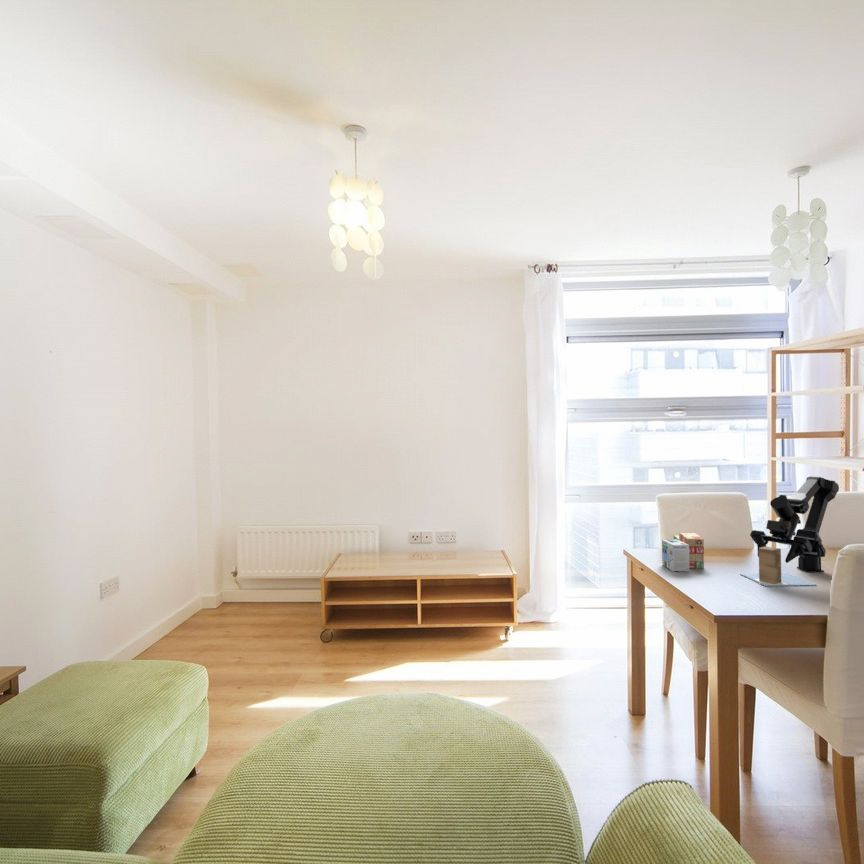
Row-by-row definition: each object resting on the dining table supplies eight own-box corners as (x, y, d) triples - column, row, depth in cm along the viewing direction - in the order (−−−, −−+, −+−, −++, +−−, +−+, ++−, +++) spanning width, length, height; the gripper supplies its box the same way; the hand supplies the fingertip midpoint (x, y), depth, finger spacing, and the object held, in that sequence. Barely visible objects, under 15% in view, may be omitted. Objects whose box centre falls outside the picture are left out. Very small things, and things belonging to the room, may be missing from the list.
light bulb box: (661, 565, 210) (661, 539, 210) (678, 565, 210) (677, 539, 210) (673, 572, 200) (672, 544, 200) (690, 572, 199) (689, 544, 199)
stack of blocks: (674, 555, 226) (673, 528, 226) (689, 556, 225) (688, 528, 225) (687, 568, 205) (686, 538, 205) (704, 569, 204) (703, 538, 204)
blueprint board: (787, 574, 194) (787, 572, 194) (816, 585, 179) (816, 584, 179) (740, 574, 194) (740, 573, 194) (764, 586, 179) (764, 584, 179)
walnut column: (766, 578, 187) (765, 546, 187) (781, 582, 182) (780, 548, 182) (759, 581, 184) (758, 548, 184) (774, 584, 180) (773, 550, 180)
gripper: (751, 509, 195) (736, 541, 189) (807, 515, 179) (792, 550, 173) (763, 527, 199) (748, 559, 193) (818, 534, 183) (804, 570, 177)
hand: (772, 559), depth 184 cm, fingers open, 9 cm apart
